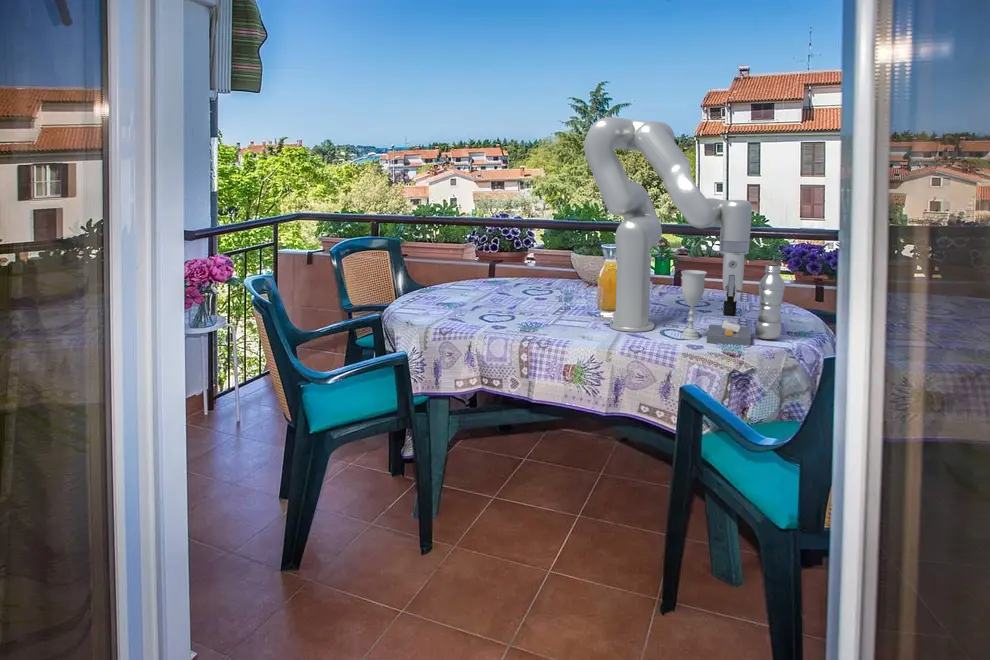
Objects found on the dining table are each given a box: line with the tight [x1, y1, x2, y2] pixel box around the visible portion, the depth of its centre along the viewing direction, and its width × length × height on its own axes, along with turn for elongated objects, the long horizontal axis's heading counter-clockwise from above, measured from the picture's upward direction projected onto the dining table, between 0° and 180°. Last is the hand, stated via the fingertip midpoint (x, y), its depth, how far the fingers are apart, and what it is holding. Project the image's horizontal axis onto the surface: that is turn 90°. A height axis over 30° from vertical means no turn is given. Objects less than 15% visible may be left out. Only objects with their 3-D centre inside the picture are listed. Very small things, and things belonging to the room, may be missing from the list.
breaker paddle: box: [721, 319, 740, 332], centre depth 206 cm, size 4×3×1 cm
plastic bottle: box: [754, 263, 786, 340], centre depth 203 cm, size 6×7×20 cm
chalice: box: [680, 269, 708, 341], centre depth 206 cm, size 7×7×18 cm
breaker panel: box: [706, 321, 752, 346], centre depth 206 cm, size 11×14×3 cm
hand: (729, 315), depth 205 cm, fingers closed
